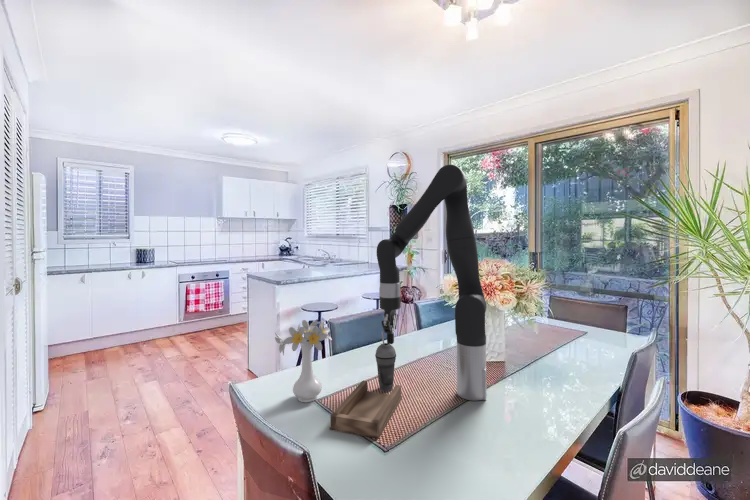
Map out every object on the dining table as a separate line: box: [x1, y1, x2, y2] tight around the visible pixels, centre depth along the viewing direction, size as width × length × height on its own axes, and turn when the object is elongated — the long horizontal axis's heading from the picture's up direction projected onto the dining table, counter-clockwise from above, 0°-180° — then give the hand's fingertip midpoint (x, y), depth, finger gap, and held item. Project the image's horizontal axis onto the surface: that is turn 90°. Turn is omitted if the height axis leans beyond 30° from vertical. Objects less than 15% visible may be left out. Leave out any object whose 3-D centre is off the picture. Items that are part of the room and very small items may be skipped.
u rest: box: [329, 380, 403, 440], centre depth 102 cm, size 14×24×4 cm, turn 161°
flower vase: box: [274, 319, 333, 403], centre depth 111 cm, size 13×18×25 cm
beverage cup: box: [374, 330, 397, 392], centre depth 118 cm, size 7×7×20 cm
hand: (390, 343), depth 124 cm, fingers closed
